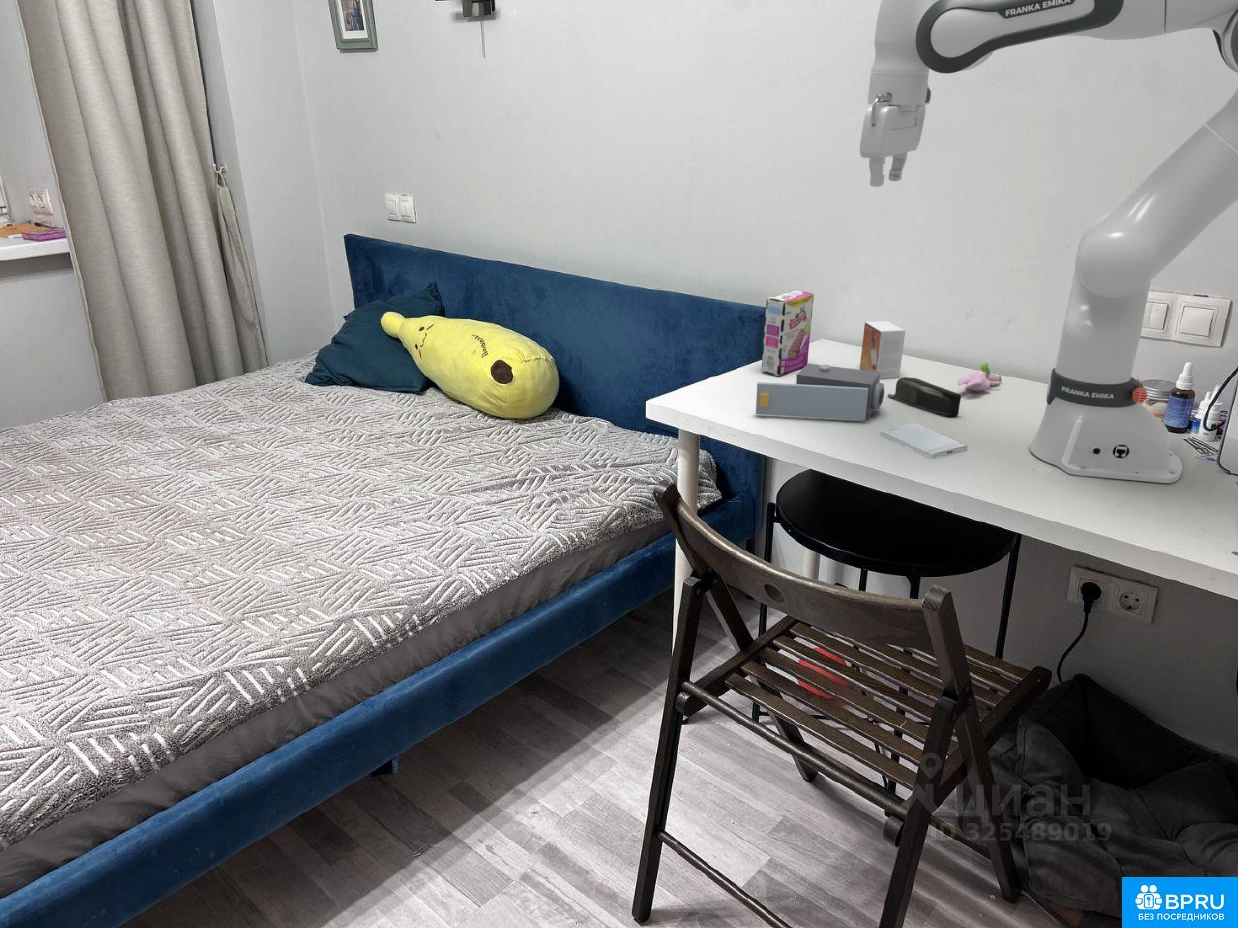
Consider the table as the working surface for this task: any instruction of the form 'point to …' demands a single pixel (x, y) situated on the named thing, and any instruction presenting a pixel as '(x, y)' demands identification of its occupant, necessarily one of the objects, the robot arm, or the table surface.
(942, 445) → the hard drive
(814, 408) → the side door
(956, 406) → the dark green rounded block
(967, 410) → the table surface
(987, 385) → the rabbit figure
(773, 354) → the candy bar box
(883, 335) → the small box
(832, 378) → the box
